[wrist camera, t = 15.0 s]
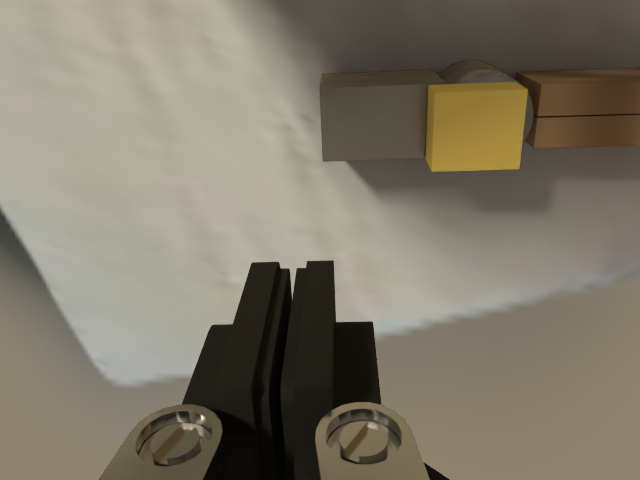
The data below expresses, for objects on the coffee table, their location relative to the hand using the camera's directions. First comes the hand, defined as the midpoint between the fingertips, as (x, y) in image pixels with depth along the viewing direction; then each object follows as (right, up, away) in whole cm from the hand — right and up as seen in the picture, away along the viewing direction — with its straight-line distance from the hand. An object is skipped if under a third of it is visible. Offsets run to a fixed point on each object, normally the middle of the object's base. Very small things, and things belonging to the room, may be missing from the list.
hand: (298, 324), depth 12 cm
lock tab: (+8, +7, +15) cm, 19 cm away
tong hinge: (+6, +9, +20) cm, 23 cm away
